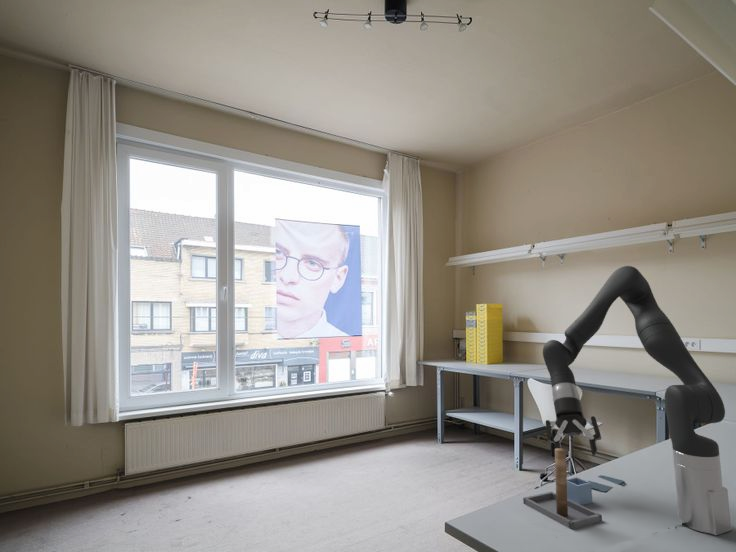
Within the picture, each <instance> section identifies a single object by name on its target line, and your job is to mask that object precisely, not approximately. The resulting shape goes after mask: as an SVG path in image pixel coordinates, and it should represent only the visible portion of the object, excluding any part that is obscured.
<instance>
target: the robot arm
mask: <svg viewBox="0 0 736 552" xmlns="http://www.w3.org/2000/svg"><path fill="white" fill-rule="evenodd" d="M618 298H620V299H621V300H622V301H623V302H624V304H625V305H626V306H627V308H628V309H629V311H630V313H631V314H632V315H633V319H634V323H635V330H636V334H637V336H638V340H640V342H641V345H642V347H643V349H644V350H645V351H646V353H647V354H648V356H650V357H651V358H652V359H653V360H655V361H656V362H658V364H660V365H661V366H663V367H664V368H666V369H667V370H668V371H670V372H672V373H673V374H674V375H675V376H676V377H677V378H678V379H679V380H680V381H681V382H682V383H683V384H672V385H669V386H668V387H667V388H666V389H665V391H664V392H665V393H664V407H665V413H666V414H665V415H666V418H667V419H666V420H667V427H668V433H669V437H670V440H671V446H672V447H671V448H672V457H673V468H674V478H675V479H674V480H675V488H676V489H675V490H676V499H677V500H676V501H677V508H678V510H677V511H678V518H679V519H680V521H682V523H681V524H682V525H683V526H684V527H687V528H688V529H691V530H694V531H698V532H701V533H706V534H710V535H713V536H718V535H722V534H725V533H728V532H731V531H732V520H731V512H730V511H731V510H730V501H729V493H728V492H729V491H728V488H727V487H725V486H723V478H722V465H721V456H720V446H719V444H718V442H717V441H715V440H714V439H712V438H710V437H706V436H703V435H700V434H698V433H696V431H695V429H694V424H716V423H720V422H722V421H723V420H724V418H725V416H726V415H725V414H726V409H725V404H724V402H723V399H722V397H721V395H720V393H719V392H718V390H717V389H716V388H715V386H714V385H713V384H712V382H711V381H710V379H709V378H708V377H707V375H706V374H705V373H704V372H703V370H702V369H701V368H700V366H699V365H698V364H697V362H696V361H695V360H694V357H692V355H691V353H690V351H689V350H688V349H687V347H686V344H685V343H684V342H683V340H682V338H681V336H680V334H679V332H678V331H677V329H676V328H675V326H674V324H673V322H671V320H670V318H669V317H668V316H667V315H666V314H665V312H664V311H663V310H662V308H660V306H659V305H658V302H657V300H656V298H655V296H654V293H653V291H652V288H651V285H650V284H649V282H648V280H647V279H646V277H645V276H643V274H642V273H641V272H640V271H639V269H638V268H636V267H634V266H631V265H624V266H622V267H619V268H618V269H616V270H615V271H613V272H612V273H611V275H610V276H609V277H608V278H607V280H606V281H605V283H604V284H603V285H602V287H601V288H600V289H599V291H598V292H597V294H596V295H595V296H594V298H593V299H592V300H591V302H590V303H589V305H588V306H587V307H586V308H585V309H584V311H583V312H582V313H581V314H580V315H579V316H578V317H577V318H576V319H575V320H574V321H573V322H572V323H571V324H570V325H569V326H568V327H567V328H566V329H565V331H564V336H565V340H564V342H563V343H562V342H561V341H559V340H556V339H550V340H548V341H546V343H545V344H544V345H543V348H542V357H543V361H544V363H545V367H546V369H547V371H548V374H549V376H550V384H551V391H552V392H551V394H552V401H553V405H554V406H553V408H554V413H555V418H556V419H555V420H552V421H550V420H549V419H547V420H545V433H546V438H547V440H548V443H551V444H554V446H555V449H556V448H560V449H563V448H562V444H561V442H562V440H563V439H565V436H568V437H571V436H580V435H581V434H582V435H583V437H585V438H587V440H588V441H589V446H590V449H591V450H590V451H591V454H592V456H593V457H595V456H596V454H598V448H597V444H596V442H597V441H600V440H602V435H601V432H600V429H599V425H598V421H597V418H596V417H595V416H594V415H592V416H590V418H589V417H588V418H585V416H584V412H583V407H582V402H581V398H580V393H579V391H578V388H577V384H576V379H575V378H576V377H575V375H574V372H573V370H572V369H571V368H570V365H572V364H573V363H574V362H575V360H576V359H577V357H578V355H579V354H580V352H581V350H582V349H583V348H584V345H586V343H588V341H590V340H591V338H593V337H594V336H595V335H596V334H597V332H598V331H599V330H600V329H601V327H602V325H603V324H604V323H603V322H604V321H605V318H606V316H607V314H608V312H609V310H610V308H611V306H612V305H613V303H615V301H616V300H618ZM587 424H589V426H590V427H592V428H593V430H594V434H592V433H591V432H589V431H588V430H587V429H586V426H587ZM555 426H556V427H557V428H558V430H557V432H556V435H555V436H554V437H553V430H554V429H555Z"/></svg>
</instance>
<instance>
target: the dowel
mask: <svg viewBox="0 0 736 552" xmlns="http://www.w3.org/2000/svg"><path fill="white" fill-rule="evenodd" d="M554 464H555V465H554V467H555V468H554V469H555V470H554V471H555V473H554V474H555V493H556V508H557V514H559V515H561V516H563V517H567V516H568V502H567V479H568V478H567V477H568V475H567V473H568V472H567V450H566V449H564V448H562V449H560V448H556V447H555V448H554Z"/></svg>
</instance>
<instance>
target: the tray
mask: <svg viewBox="0 0 736 552" xmlns="http://www.w3.org/2000/svg"><path fill="white" fill-rule="evenodd" d="M522 501H523V502H522V503H523V504H524V505H525V506H527V507H529V508H531V509H532V510H534V511H537V512H539V513H541V514H542V515H544V516H547V517H548V518H550V519H552V521H553V520H554V521H556V522H557V523H559V524H561V525H563V526H564V527H566V528H568V529H570V530H575V529H578V528H582V527H586V526H589V525H590V526H591V525H594V524H596V523H600V522H603V515H602V514H601V513H598V512H596V511H594V510H592V509H590V508H588V507H585V506H584V505H579V504H577V503H575V502H573V501H571V500H569V499H567V502H568V516H567V517H563V516H561V515H559V514H557V508H556V492H553V491H548V492H544V493H538V494H535V495H529V496H525V497H523V498H522Z"/></svg>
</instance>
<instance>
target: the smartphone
mask: <svg viewBox="0 0 736 552" xmlns="http://www.w3.org/2000/svg"><path fill="white" fill-rule="evenodd" d="M597 478H600V479H602V480H605V481H608V482H610V483H612V484H616V485H619V486H621V487H623V486H624V485H626V481H625V480H623V479H619V478H615V477H610V476H606V475H602V474H601V475H598V476H597ZM587 482H590V483H591V489H592V490H593V491H596V492H599V493H605V494H606V493H608V492H609V491H611V490H612V489H613V488H614V487H613V486H610V485H606V484H602V483H599V482H595V481H591V480H587Z"/></svg>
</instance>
